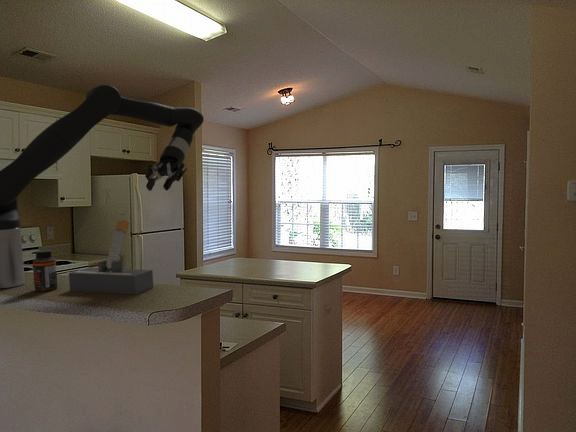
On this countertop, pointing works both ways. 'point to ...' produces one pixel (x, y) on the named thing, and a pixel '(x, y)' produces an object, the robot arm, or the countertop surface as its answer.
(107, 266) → the lever
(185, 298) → the countertop surface
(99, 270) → the block
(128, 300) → the countertop surface
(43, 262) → the supplement bottle
